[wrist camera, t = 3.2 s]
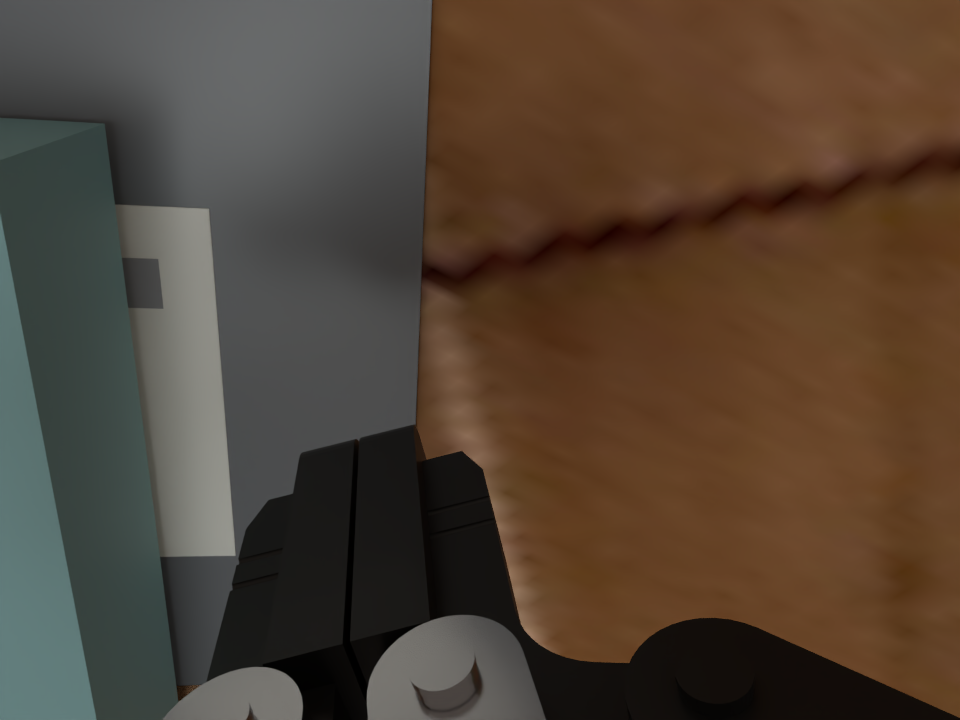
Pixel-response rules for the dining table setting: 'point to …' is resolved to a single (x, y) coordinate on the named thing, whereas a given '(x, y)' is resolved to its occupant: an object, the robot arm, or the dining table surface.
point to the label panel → (246, 240)
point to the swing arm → (72, 446)
